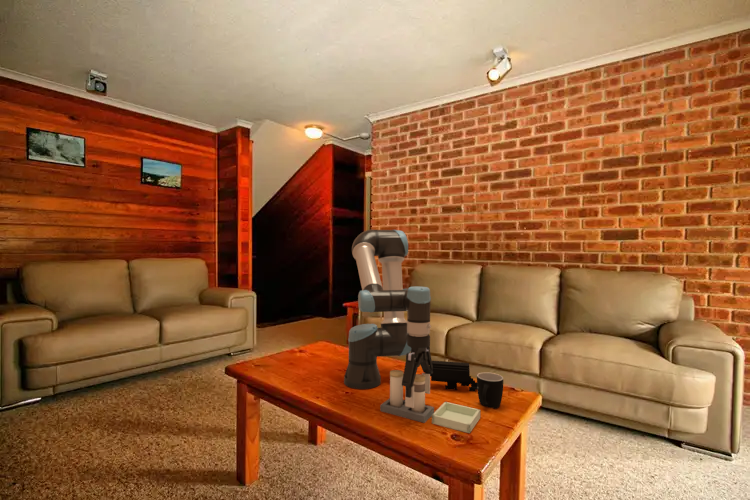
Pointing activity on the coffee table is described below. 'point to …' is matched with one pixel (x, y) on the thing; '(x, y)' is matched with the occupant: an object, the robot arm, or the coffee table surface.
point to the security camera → (453, 374)
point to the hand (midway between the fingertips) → (418, 399)
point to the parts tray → (456, 417)
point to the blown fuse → (419, 394)
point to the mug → (490, 389)
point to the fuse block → (402, 401)
